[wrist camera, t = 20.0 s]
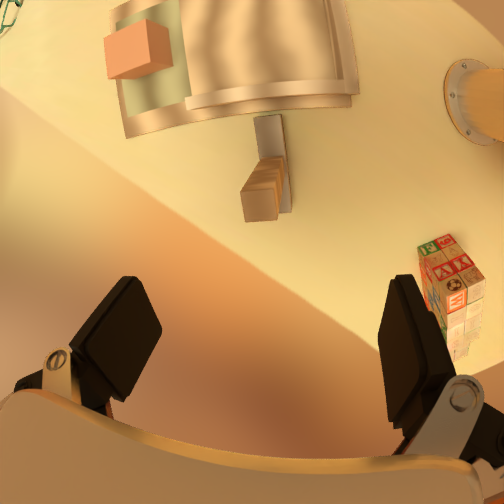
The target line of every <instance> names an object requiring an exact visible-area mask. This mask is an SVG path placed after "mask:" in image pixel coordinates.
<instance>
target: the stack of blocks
mask: <svg viewBox="0 0 504 504" xmlns="http://www.w3.org/2000/svg"><path fill="white" fill-rule="evenodd" d="M417 249H418V255H419V261H420V263H419V264H420V271H421V278H422V286H423V291H424V298H425V304H426V306H427V308H428V311H432V312H434V314H435V316H436V318H437V321H438V323H439V326H440V328H441V331H442V334H443V336H444V339H445V342H446V345H447V347H448V350H449V353H450V356H451V359H452V362H454V361H456V360H458V359H460V358H462V357H465V356H467V355H468V349H469V344H470V342H472V341H474V340H476V339H478V338H479V333H480V324H481V317H482V311H483V302H484V295H485V283H486V279H485V278H484V276H483V275H482V274H481V272H480V271H479V270H478V268H477V267H476V266H475V264H474V262H473V261H472V260H471V259H470V257H469V256H468V255H467V254H466V253H465V252H464V251H463V250H462V249H461V247H460V246H459V245H458V244H457V242H456V241H455V240H454V239H453V238H452V237H451V235H450V234H447V235H445V236H443V237H440V238H438V239H435V240H434V241H431V242H429V243H426V244H424V245H421V246H419V247H417Z"/></svg>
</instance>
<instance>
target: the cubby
mask: <svg viewBox="0 0 504 504" xmlns="http://www.w3.org/2000/svg"><path fill="white" fill-rule="evenodd" d="M109 13H110V30H111V34H113V33H115V32H117V31H119V30H121V29H123V28H125V27H127V26H129V25H132V24H134V23H136V22H138V21H141V20H143V19H148V20H150V21H153V22H155V23H157V24H160V25H162V26H164V27H167V28H168V30H169V38H170V46H171V53H172V60H173V67H170V68H167V69H163V70H160V71H157V72H154V73H151V74H148V75H146V76H143V77H140V78H137V79H135V80H132V79H116V85H117V91H118V98H119V104H120V109H121V115H122V120H123V126H124V131H125V136H126V139H128V138H131V137H134V136H138V135H142V134H145V133H149V132H153V131H156V130H160V129H164V128H169V127H173V126H177V125H182V124H186V123H191V122H196V121H201V120H206V119H212V118H218V117H224V116H230V115H237V114H244V113H252V112H261V111H271V110H282V109H296V108H317V107H352V106H351V96H350V95H355V94H360V91H359V82H358V74H357V66H356V59H355V52H354V46H353V40H352V35H351V30H350V24H349V20H348V15H347V10H346V6H345V2H344V0H130V1H128V2H126V3H124V4H122V5H120V6H118V7H116V8H114V9H112V10H110V11H109Z"/></svg>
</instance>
